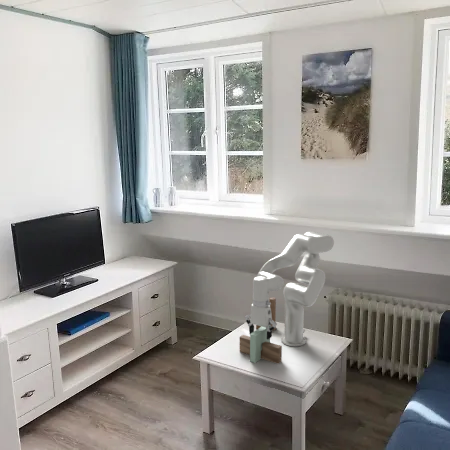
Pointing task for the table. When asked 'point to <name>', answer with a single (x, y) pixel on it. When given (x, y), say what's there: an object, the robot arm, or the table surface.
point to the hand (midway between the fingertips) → (260, 335)
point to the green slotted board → (257, 343)
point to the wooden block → (273, 311)
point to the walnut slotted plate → (263, 349)
